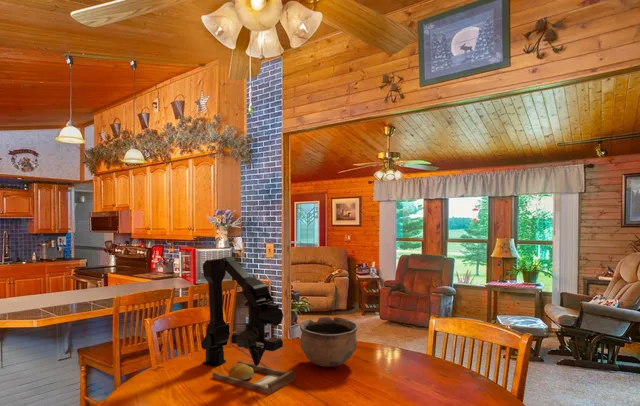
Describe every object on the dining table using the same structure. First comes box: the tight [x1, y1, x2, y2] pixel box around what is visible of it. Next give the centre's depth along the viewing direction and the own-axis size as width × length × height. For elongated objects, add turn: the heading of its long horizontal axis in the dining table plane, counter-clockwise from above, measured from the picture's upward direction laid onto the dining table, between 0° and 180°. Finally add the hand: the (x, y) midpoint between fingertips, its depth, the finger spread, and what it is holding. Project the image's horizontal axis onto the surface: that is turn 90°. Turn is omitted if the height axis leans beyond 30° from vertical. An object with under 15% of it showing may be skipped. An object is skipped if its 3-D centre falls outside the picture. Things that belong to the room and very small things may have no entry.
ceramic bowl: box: [299, 316, 359, 368], centre depth 160 cm, size 22×22×15 cm
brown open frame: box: [211, 360, 296, 395], centre depth 146 cm, size 25×14×3 cm, turn 59°
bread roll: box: [227, 363, 255, 381], centre depth 147 cm, size 8×9×4 cm
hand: (256, 365), depth 145 cm, fingers closed
